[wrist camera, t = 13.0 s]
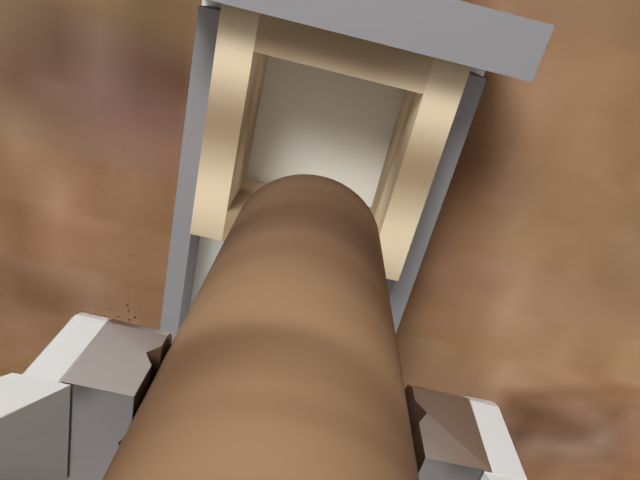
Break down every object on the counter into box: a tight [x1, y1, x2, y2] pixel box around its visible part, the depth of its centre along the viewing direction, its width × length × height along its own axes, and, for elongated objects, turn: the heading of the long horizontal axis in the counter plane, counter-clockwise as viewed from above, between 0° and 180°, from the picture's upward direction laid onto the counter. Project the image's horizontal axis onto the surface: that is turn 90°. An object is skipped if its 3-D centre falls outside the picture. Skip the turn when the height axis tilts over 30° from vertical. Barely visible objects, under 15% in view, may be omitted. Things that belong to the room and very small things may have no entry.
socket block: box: [190, 3, 471, 281], centre depth 24 cm, size 10×10×5 cm
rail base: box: [160, 0, 555, 342], centre depth 26 cm, size 22×14×8 cm, turn 167°
